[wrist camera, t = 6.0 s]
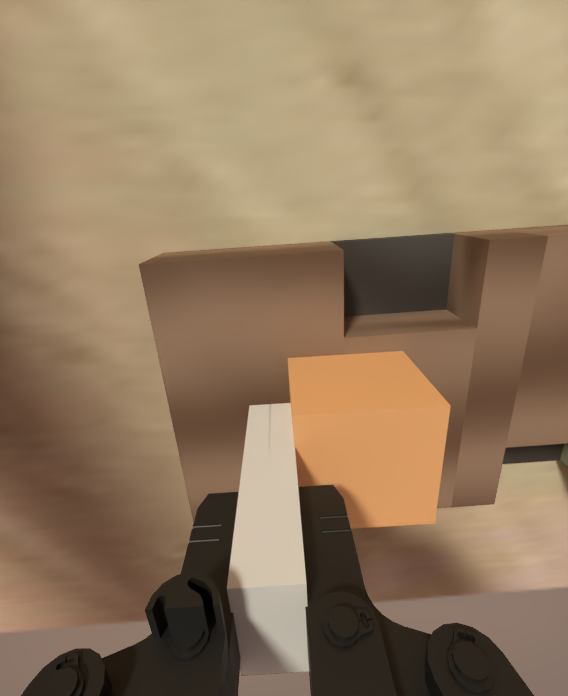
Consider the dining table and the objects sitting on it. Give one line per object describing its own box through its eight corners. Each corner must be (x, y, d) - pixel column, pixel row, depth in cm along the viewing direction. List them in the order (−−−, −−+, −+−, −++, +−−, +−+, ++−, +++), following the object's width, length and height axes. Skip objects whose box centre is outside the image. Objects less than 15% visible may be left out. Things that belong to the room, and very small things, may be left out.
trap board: (163, 252, 15) (121, 272, 11) (783, 209, 15) (977, 212, 11) (205, 479, 20) (187, 554, 15) (682, 445, 20) (793, 511, 15)
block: (287, 357, 14) (292, 415, 10) (403, 350, 14) (450, 405, 10) (292, 452, 15) (299, 532, 12) (395, 446, 15) (434, 523, 12)
